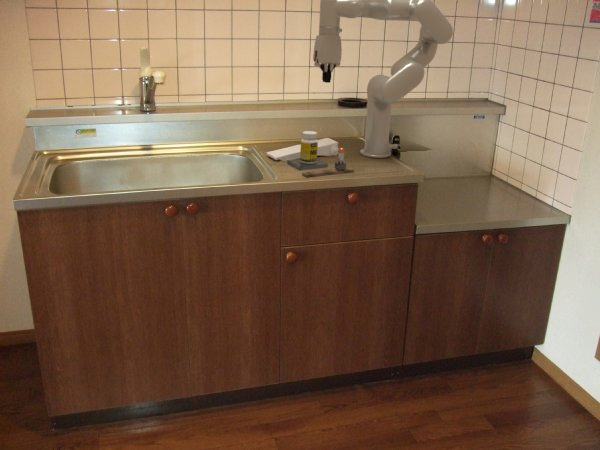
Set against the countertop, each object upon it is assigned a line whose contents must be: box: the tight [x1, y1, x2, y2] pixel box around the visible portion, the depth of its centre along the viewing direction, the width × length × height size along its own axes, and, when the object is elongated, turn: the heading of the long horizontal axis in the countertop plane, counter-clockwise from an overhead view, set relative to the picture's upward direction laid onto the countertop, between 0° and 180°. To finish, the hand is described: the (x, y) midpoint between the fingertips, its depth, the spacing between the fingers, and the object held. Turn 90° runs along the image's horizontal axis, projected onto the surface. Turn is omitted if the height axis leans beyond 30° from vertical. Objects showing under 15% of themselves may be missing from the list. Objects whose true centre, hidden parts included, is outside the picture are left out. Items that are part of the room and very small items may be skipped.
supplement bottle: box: [299, 130, 319, 164], centre depth 227 cm, size 6×6×11 cm
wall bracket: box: [266, 137, 340, 162], centre depth 242 cm, size 10×7×28 cm
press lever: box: [334, 147, 347, 170], centre depth 220 cm, size 3×3×8 cm
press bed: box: [286, 158, 329, 171], centre depth 229 cm, size 12×10×1 cm
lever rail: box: [301, 166, 355, 178], centre depth 220 cm, size 20×3×1 cm, turn 117°
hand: (326, 82), depth 232 cm, fingers closed
